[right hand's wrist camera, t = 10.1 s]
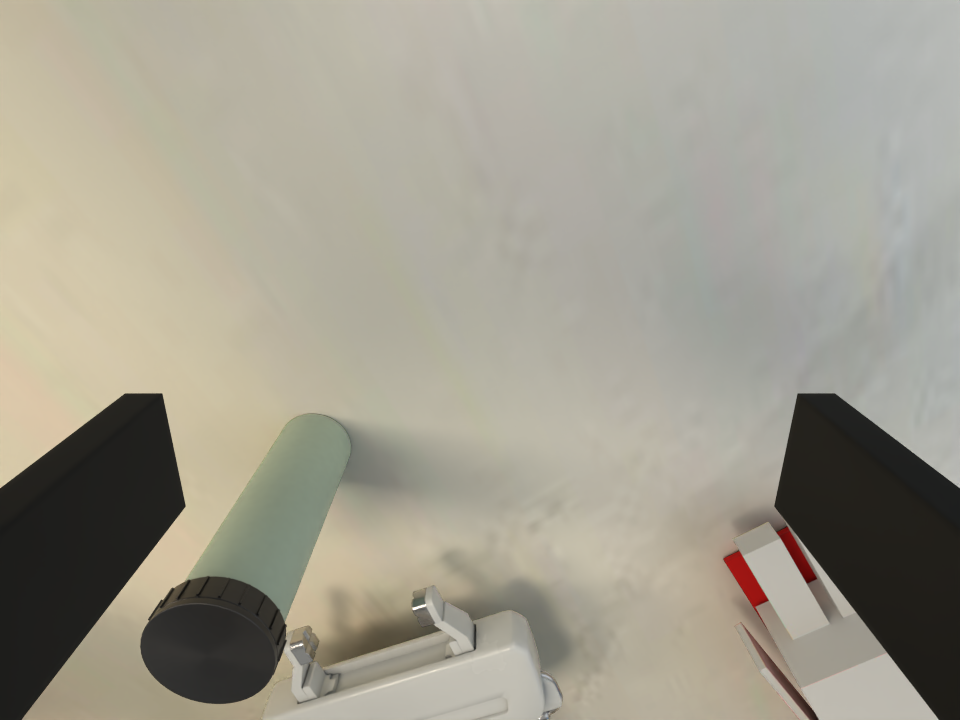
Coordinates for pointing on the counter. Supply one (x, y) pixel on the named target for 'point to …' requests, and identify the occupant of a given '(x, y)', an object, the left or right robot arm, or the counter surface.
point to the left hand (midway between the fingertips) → (357, 615)
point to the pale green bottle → (281, 511)
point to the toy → (816, 636)
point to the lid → (214, 640)
